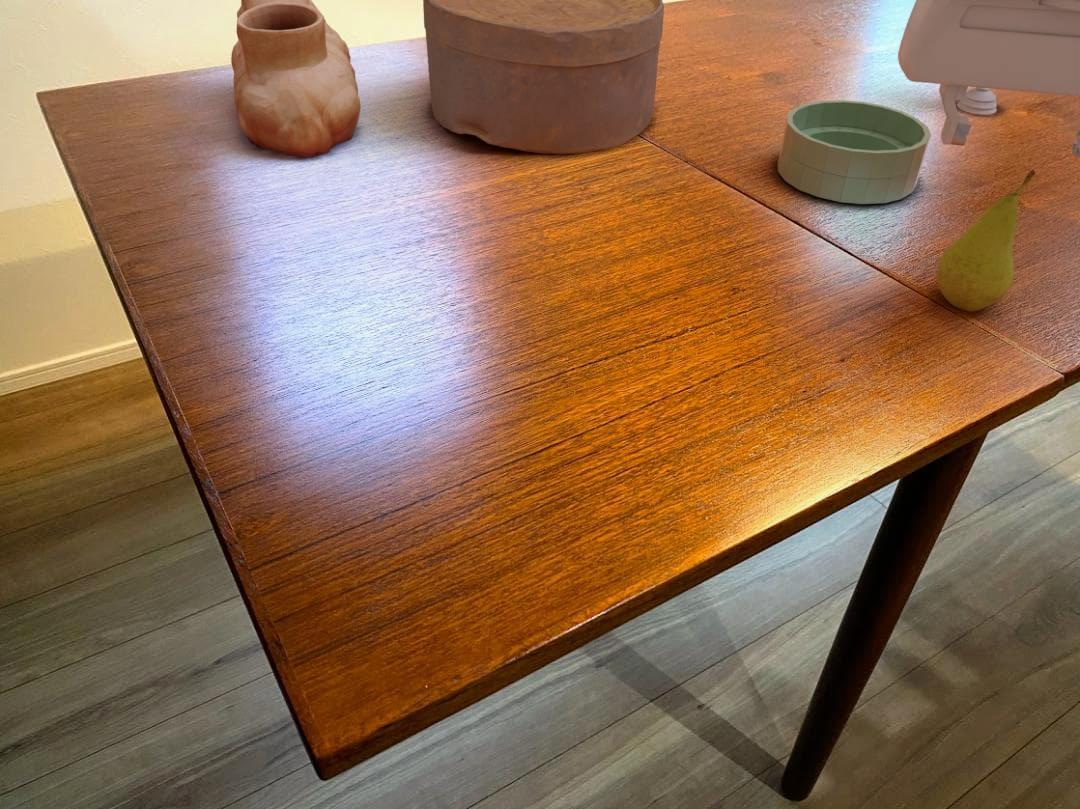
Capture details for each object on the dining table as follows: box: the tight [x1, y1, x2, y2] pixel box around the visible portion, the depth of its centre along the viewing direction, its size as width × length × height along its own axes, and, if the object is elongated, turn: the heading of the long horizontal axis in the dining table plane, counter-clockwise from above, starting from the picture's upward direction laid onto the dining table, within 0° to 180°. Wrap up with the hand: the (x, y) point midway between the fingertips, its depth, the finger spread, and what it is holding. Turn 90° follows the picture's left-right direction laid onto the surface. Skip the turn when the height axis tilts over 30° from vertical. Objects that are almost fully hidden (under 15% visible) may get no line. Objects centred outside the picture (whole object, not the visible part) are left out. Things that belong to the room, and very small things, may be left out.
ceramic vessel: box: [230, 0, 361, 158], centre depth 101 cm, size 14×26×15 cm, turn 18°
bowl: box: [777, 99, 932, 205], centre depth 93 cm, size 14×14×6 cm
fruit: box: [935, 169, 1036, 313], centre depth 71 cm, size 6×6×12 cm
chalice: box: [956, 87, 998, 116], centre depth 105 cm, size 7×7×18 cm
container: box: [422, 0, 665, 155], centre depth 103 cm, size 28×28×15 cm
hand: (1017, 148), depth 66 cm, fingers open, 8 cm apart
